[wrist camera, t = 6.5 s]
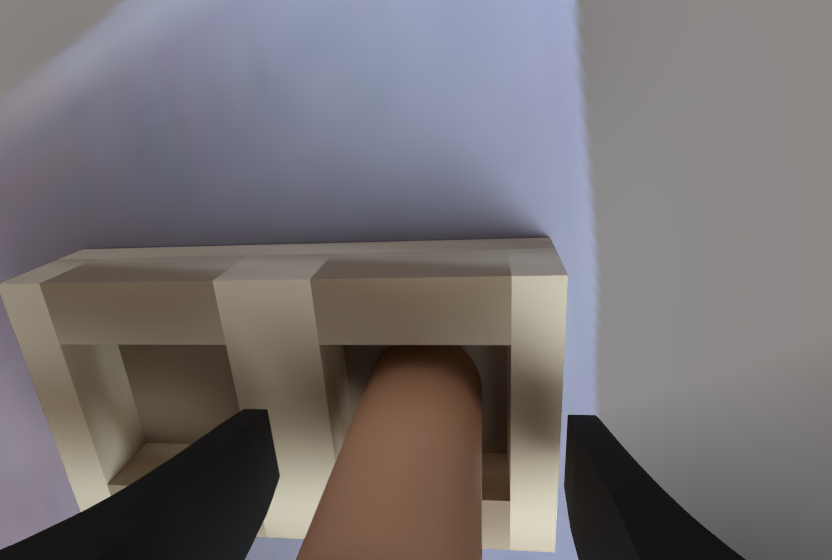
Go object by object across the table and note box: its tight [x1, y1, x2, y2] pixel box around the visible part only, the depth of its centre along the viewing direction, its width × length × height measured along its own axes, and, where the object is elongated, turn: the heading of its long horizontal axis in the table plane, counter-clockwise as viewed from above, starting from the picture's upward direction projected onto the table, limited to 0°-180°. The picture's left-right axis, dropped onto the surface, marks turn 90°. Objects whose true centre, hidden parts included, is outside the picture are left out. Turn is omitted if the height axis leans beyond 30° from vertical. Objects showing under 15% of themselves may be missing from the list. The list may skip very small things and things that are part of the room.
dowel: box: [296, 345, 482, 560], centre depth 11 cm, size 3×3×7 cm
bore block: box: [0, 238, 568, 552], centre depth 15 cm, size 8×14×3 cm, turn 94°
